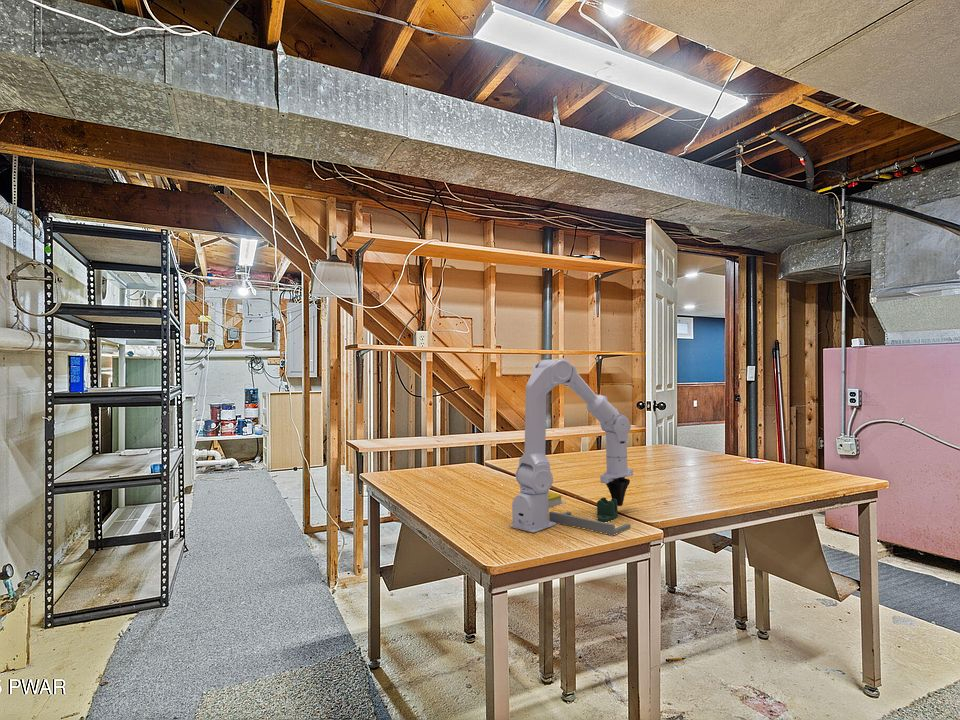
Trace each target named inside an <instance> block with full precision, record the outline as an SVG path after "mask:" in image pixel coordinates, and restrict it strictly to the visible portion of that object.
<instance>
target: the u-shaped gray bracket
mask: <svg viewBox="0 0 960 720" xmlns="http://www.w3.org/2000/svg"><path fill="white" fill-rule="evenodd" d="M549 521H550V522H555V523H556V524H558V523H560V524H559V525H562V524H565V525H564V526H567V525H570V526H569V527H571V526H575V527H574V528H576V527H580V528H585V529H589V530H593V531H597V532H602V533H607V534H610V535H614V534H616V533H619V532H621V531H623V532H625V531H627V529H628V530H629V529H631V523H625V524H622V525H620V526H618V527H616V525H615V524H613V523H610V522H607V523H605V522H600V521H598V520H594V519H590V518H584V517H580V516H575V515H572V512H571V511H565V512H562V513H561V512H556V511H549ZM580 528H579V529H580ZM589 530H588V531H589ZM624 530H625V531H624ZM593 531H592V532H593ZM597 532H596V533H597ZM602 533H601V534H602ZM621 533H622V532H621ZM619 534H620V533H619ZM610 535H609V536H610ZM616 535H617V534H616ZM614 536H615V535H614Z"/></svg>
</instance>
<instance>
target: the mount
mask: <svg viewBox="0 0 960 720" xmlns="http://www.w3.org/2000/svg"><path fill="white" fill-rule="evenodd" d="M618 507H619V506H617V499H614V498H612V497H611V499H610V500H608V499H607V498H606V497H601V498H600V499H599V500H597V502H596V512H597V513H596V516H597V517H596V518H598V519H597V521H600V522H607V523H609V522H608V521H610V522H612V521H611V520H614V519H615V520H616V519H617V518H619V517H618V516H619V514H618ZM615 520H614V521H615Z"/></svg>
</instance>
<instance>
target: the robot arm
mask: <svg viewBox="0 0 960 720" xmlns="http://www.w3.org/2000/svg"><path fill="white" fill-rule="evenodd" d="M559 385H563V386H567V387H568V388H570V389H571V390H572V391H573V392H574V393H575V394H576V395H577V396H579V398H581V399H582V400H583V401H584V402H585V403H586V410H587V411H588V412H589V413H590V414H591V415H592V416H593V417H594V418H595V419H596V420H597V421H598V422H599V423H600V428H601V430H602V431H603V432H605V454H606V455H605V456H606V457H605V458H606V460H605V461H606V462H605V463H606V470H605V472H604V473H603V474H602V475H600V476H599V479H600V482H599V483H600V484H605V486H606V488H607V489H608V491H609V493H610V497H611V499H612V498H614V499H617V507H622V506H623V504H624V501H625V496H626V492H627V489H628V486H629V485H630V483H631V480H630V479H629V478H628V477H633V476H634V469H633V468H628V439H629V438H628V437H629V433H630V431H631V428H632V424H631V423H630V420H629V418H628V417H627V416H626V415H625V414H620V413H619V410H618V408H617V407H614V406H613V405H612V403H610V402H609V401H608V400H609V398H608V397H607V396H606V395H603V394H596V393H595V392H594V391H593V390H592V389H591V387H590V386H589V385H588V384H587V382H586V381H585V380H584V379H583V378H582V377H581V375H580V374H579V373H578V371H577V369H576V367H575V366H574V365H573V364H572V363H571V362H570V360H568V359H566V358H562V357H560V358H557V359H541V360H539V361H538V362H537V363H536V364H535V365H533V366H532V372H531V374H530V377H529V379H528V381H527V383H526V385H525V406H524V407H525V411H524V417H525V418H524V453H523V454H522V455H521V456H520V458H519V459H518V467H517V469H516V470H515V480H516V482H517V483H518V484H519V490H520V491H519V494H518V495H515V497H514V498H513V500H512V503H511V507H512V508H511V509H512V510H511V511H512V512H511V513H512V514H511V515H512V516H511V517H512V524H510V525H509V527H511V528H514V529H517V530H521V531H525V532H529V533H533V534H534V533H537V532H540V531H543V530H545V529H548V528H551V527H554V526H556V525H557V523H555V522H550V521H549V512H550V511H549V509H550V508H549V507H548V493H550V489H551V488H552V486H553V482H554V478H553V477H554V476H553V474H552V472H551V463H550V460H549V459H548V457H547V455H546V442H547V441H546V439H547V433H546V431H547V427H546V425H547V394H549V392H551V391H552V390H553V389H554V388H555V387H557V386H559ZM626 477H627V478H626Z"/></svg>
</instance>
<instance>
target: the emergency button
mask: <svg viewBox="0 0 960 720" xmlns="http://www.w3.org/2000/svg"><path fill="white" fill-rule="evenodd" d="M564 503H565V504H566V503H567V502H566V501H564V500H562V495H561V494H559V493H553V492H549V493H548V507H549V509H550V507H551V508H554V506H555V507H557V505H558V506H560V504H561V505H564Z"/></svg>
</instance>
